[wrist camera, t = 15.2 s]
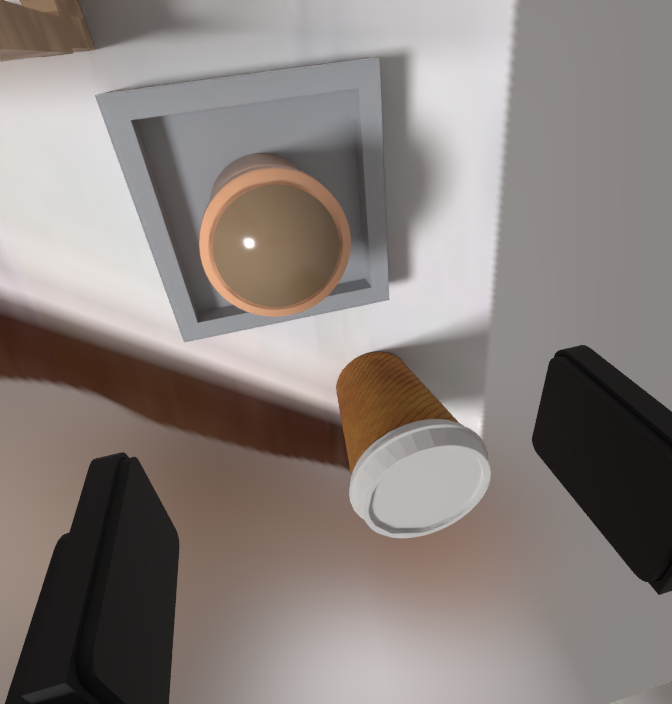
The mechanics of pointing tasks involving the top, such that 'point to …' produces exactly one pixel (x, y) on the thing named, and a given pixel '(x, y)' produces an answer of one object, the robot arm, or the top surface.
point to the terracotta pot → (272, 237)
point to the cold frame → (42, 29)
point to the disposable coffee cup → (406, 450)
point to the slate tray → (243, 139)
